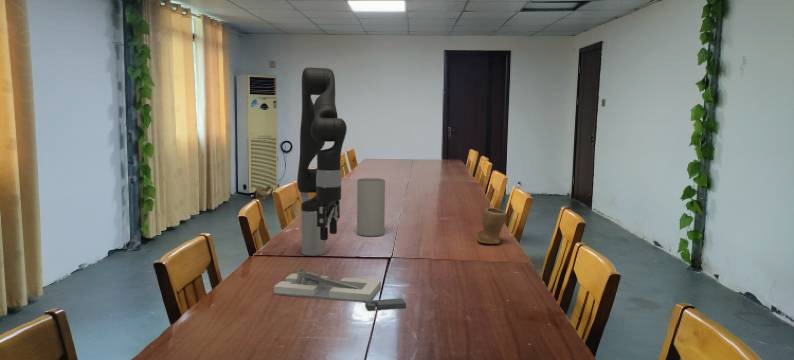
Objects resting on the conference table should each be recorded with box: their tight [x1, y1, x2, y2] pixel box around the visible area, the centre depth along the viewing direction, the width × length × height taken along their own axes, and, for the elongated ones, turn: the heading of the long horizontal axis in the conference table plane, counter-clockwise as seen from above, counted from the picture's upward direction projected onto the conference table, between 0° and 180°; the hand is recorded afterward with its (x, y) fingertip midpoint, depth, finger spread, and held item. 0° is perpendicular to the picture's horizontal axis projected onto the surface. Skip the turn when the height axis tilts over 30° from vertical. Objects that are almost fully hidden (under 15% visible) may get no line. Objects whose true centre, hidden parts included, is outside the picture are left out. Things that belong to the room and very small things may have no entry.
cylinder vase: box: [356, 177, 386, 238], centre depth 249 cm, size 12×12×25 cm
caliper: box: [297, 266, 358, 289], centre depth 170 cm, size 21×1×6 cm, turn 78°
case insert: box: [273, 272, 382, 303], centre depth 170 cm, size 14×30×2 cm, turn 78°
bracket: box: [364, 297, 407, 312], centre depth 157 cm, size 4×11×2 cm, turn 105°
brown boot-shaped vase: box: [475, 207, 507, 245], centre depth 238 cm, size 15×12×15 cm
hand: (328, 236), depth 168 cm, fingers open, 8 cm apart
